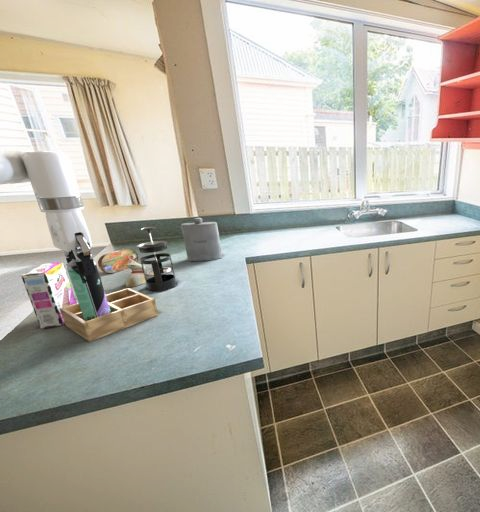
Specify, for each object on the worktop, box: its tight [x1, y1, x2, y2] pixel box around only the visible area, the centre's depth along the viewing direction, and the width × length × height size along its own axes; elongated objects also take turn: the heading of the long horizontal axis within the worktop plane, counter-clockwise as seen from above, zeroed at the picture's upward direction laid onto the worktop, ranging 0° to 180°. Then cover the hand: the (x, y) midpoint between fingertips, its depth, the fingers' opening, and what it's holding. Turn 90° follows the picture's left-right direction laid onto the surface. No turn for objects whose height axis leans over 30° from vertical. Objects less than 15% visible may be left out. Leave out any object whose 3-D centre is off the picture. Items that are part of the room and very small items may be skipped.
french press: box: [136, 226, 178, 293], centre depth 108 cm, size 12×9×23 cm
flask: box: [180, 217, 223, 262], centre depth 141 cm, size 15×6×20 cm, turn 107°
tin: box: [97, 248, 139, 274], centre depth 128 cm, size 15×3×8 cm, turn 168°
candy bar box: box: [20, 261, 77, 330], centre depth 87 cm, size 11×5×16 cm, turn 27°
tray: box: [60, 287, 159, 343], centre depth 88 cm, size 16×16×6 cm
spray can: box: [66, 253, 111, 321], centre depth 80 cm, size 6×6×20 cm
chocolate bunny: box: [125, 260, 147, 289], centre depth 113 cm, size 6×8×10 cm
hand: (83, 271), depth 78 cm, fingers closed on spray can, 5 cm apart
